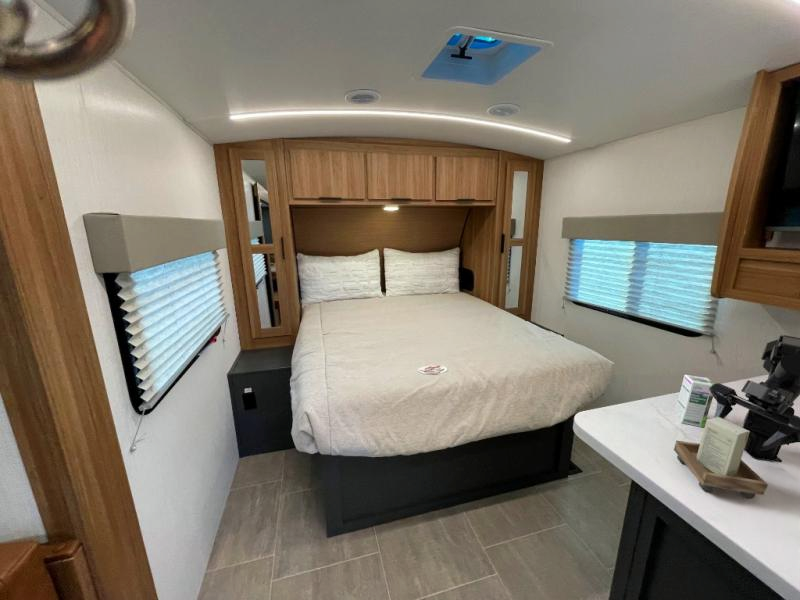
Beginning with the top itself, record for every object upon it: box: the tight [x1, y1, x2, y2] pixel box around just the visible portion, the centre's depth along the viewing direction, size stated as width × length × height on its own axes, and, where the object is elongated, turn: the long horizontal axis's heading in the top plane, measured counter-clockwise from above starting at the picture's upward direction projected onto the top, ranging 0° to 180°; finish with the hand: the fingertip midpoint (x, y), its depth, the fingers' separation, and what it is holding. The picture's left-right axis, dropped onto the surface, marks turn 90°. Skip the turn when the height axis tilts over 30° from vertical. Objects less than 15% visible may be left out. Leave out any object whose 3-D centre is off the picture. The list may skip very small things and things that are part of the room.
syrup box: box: [674, 374, 715, 428], centre depth 99 cm, size 6×6×14 cm
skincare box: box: [696, 416, 750, 476], centre depth 76 cm, size 6×4×12 cm
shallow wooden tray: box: [673, 440, 769, 500], centre depth 78 cm, size 12×12×5 cm
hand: (736, 436), depth 77 cm, fingers open, 9 cm apart
